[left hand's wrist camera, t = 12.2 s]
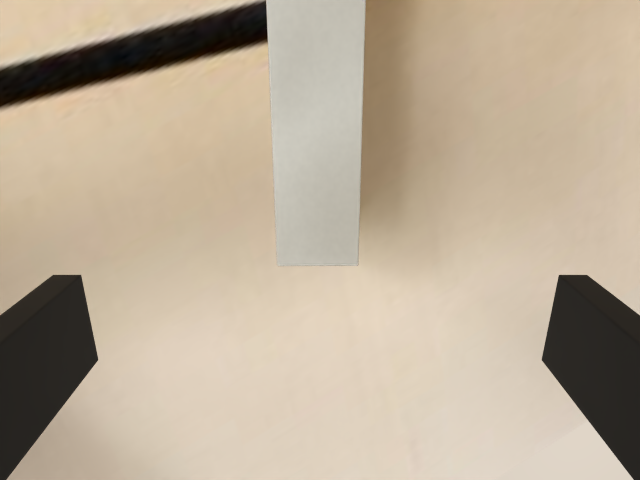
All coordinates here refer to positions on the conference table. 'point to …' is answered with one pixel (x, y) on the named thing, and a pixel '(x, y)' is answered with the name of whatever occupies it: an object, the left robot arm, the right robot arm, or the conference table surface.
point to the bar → (316, 128)
